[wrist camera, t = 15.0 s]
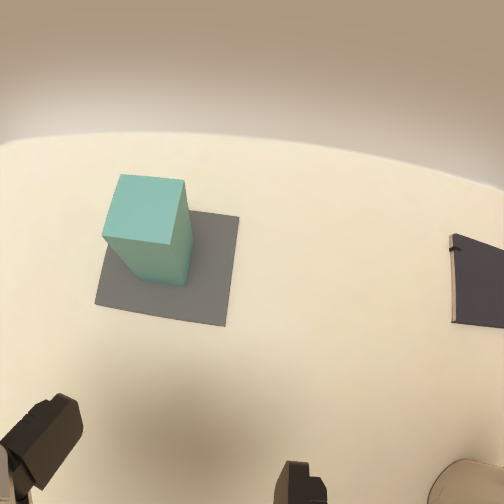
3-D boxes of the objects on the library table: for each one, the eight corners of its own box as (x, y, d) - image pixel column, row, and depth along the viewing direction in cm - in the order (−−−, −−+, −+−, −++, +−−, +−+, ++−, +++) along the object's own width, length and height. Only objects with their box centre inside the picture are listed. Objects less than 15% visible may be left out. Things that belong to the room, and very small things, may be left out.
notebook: (448, 323, 34) (526, 331, 35) (456, 321, 33) (532, 329, 34) (445, 235, 38) (521, 262, 39) (452, 231, 37) (527, 259, 38)
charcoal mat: (238, 218, 35) (239, 216, 34) (224, 326, 31) (225, 326, 30) (121, 204, 34) (120, 202, 33) (96, 304, 30) (94, 303, 29)
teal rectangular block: (193, 241, 33) (184, 180, 22) (186, 286, 31) (169, 244, 20) (149, 235, 32) (120, 174, 21) (139, 279, 31) (101, 235, 19)
